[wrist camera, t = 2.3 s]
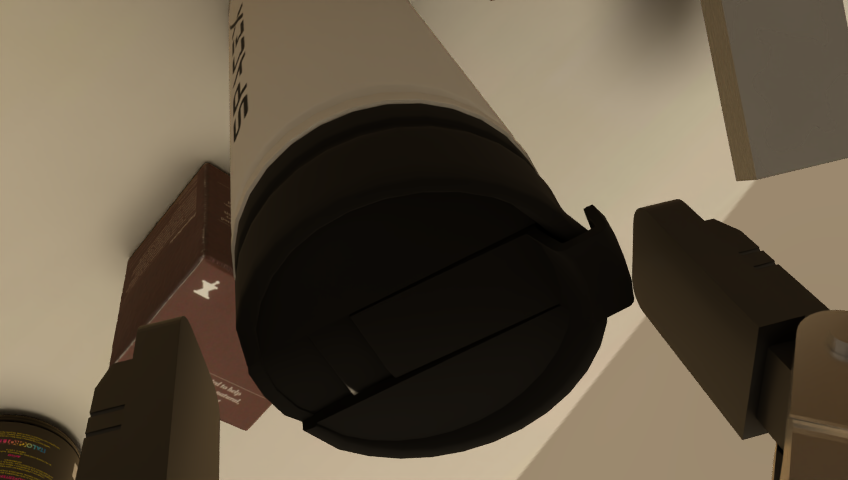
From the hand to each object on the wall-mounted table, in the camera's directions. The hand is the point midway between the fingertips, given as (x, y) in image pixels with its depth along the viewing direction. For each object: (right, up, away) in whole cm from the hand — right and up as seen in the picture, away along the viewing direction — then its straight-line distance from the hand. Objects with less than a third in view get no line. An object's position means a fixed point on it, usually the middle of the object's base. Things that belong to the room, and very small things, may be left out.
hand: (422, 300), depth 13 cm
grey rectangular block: (+11, +7, +12) cm, 18 cm away
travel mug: (-4, +10, +15) cm, 19 cm away
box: (-9, +1, +20) cm, 22 cm away
